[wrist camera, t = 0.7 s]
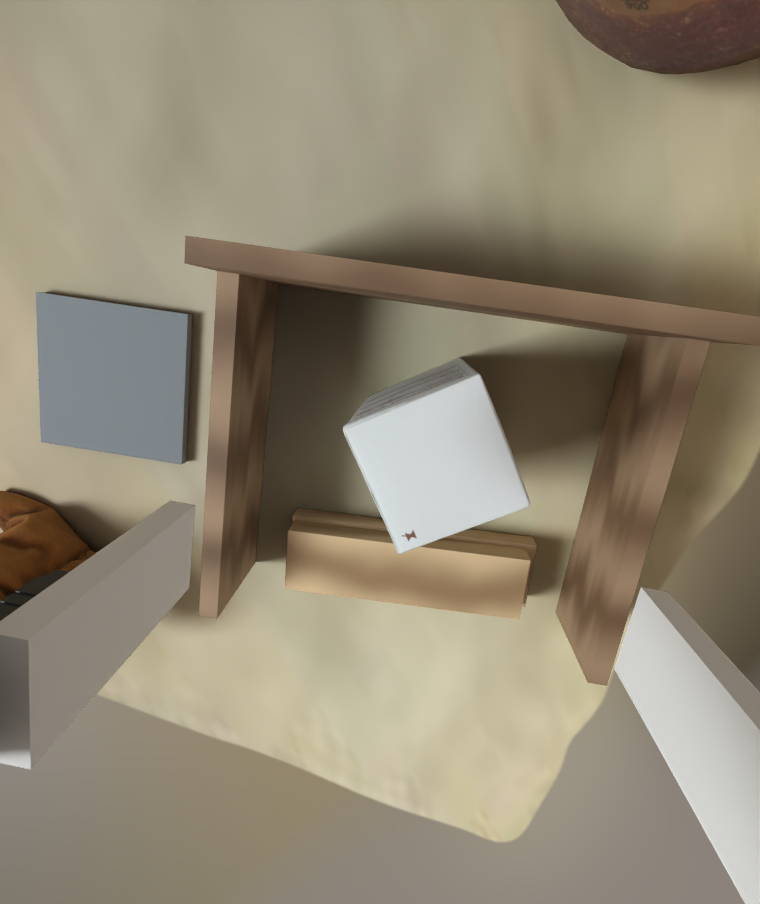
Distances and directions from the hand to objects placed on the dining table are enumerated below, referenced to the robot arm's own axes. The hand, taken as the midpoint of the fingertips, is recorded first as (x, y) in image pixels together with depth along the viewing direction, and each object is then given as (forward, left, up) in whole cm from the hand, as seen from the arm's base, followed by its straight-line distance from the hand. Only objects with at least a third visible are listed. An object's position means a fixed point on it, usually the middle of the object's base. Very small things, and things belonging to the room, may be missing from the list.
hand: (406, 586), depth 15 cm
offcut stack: (+10, +1, -24) cm, 25 cm away
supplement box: (-1, +1, -23) cm, 23 cm away
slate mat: (0, -22, -23) cm, 32 cm away
